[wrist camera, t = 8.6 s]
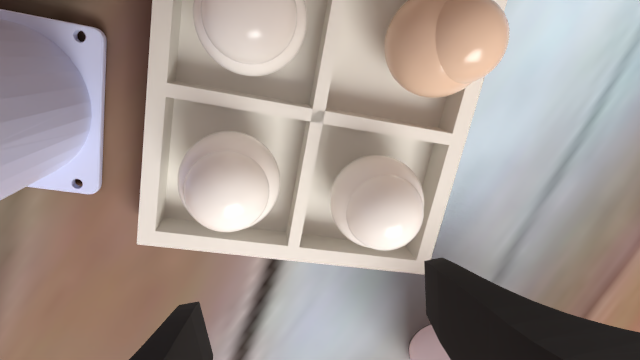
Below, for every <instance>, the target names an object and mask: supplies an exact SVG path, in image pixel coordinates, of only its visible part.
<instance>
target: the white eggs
mask: <svg viewBox="0 0 640 360" xmlns="http://www.w3.org/2000/svg"><path fill="white" fill-rule="evenodd" d="M193 19H194V25H195V30H196V32H197V35H198V38H199V40H200V42H201V44H202V46H203V47H204V49H205V50H206V52H207V53H208V54H209V55H210V56H211V57H212V58H213V59H214V60H215V61H216V62H217V63H218V64H220V65H221V66H222V67H224V68H226V69H228V70H229V71H232V72H234V73H237V74H241V75H245V76H263V75H267V74H271V73H273V72H276V71H278V70H280V69H281V68H283V67H284V66H286V65H287V64H288V63H289V62H290V61H291V60H292V59H293V58H294V57H295V55H296V54H297V53H298V51H299V49H300V47H301V45H302V43H303V40H304V38H305V34H306V29H307V10H306V5H305V1H304V0H194V3H193ZM177 185H178V191H179V195H180V198H181V200H182V203H183V205H184V206H185V208H186V210H187V211H188V212H189V213H190V215H191V216H192V217H193V218H194V219H195V220H196V221H197V222H199V223H200V224H201V225H203V226H205V227H206V228H209V229H211V230H214V231H218V232H234V231H239V230H242V229H246V228H248V227H251V226H253V225H254V224H256V223H258V222H259V221H261V220H262V219H263V218H264V217H265V216H266V215H267V214H268V213H269V212H270V210H271V209H272V208H273V206H274V204H275V202H276V200H277V197H278V194H279V190H280V172H279V168H278V165H277V162H276V160H275V158H274V156H273V155H272V153H271V152H270V150H269V149H268V148H267V147H266V146H265V145H264V144H263V143H262V142H260V141H259V140H257V139H256V138H254V137H252V136H250V135H247V134H245V133H241V132H235V131H222V132H216V133H213V134H210V135H208V136H205V137H204V138H202V139H200V140H199V141H197V142H196V143H195V144H194V145H193V146H192V147H191V148H190V149H189V150H188V151H187V153H186V154H185V156H184V158H183V160H182V162H181V164H180V167H179V171H178V183H177ZM330 210H331V214H332V217H333V220H334V222H335V224H336V225H337V227H338V229H339V230H340V231H341V232H342V233H343V234H344V235H345V236H346V237H347V238H348V239H349V240H351V241H352V242H354V243H356V244H358V245H361V246H364V247H368V248H372V249H375V250H383V251H387V250H394V249H397V248H400V247H402V246H404V245H406V244H407V243H409V242H410V241H411V240H412V239H413V238H414V237H415V236H416V235H417V233H418V232H419V230H420V228H421V225H422V222H423V217H424V194H423V189H422V186H421V184H420V182H419V180H418V178H417V176H416V175H415V173H414V172H413V171H412V170H411V169H410V168H409V167H408V166H407V165H406V164H404V163H403V162H401V161H399V160H397V159H395V158H393V157H389V156H385V155H368V156H364V157H361V158H358V159H356V160H354V161H352V162H351V163H349V164H348V165H347V166H345V167H344V168H343V169H342V170H341V172H340V173H339V174H338V175H337V177H336V179H335V181H334V183H333V185H332V188H331V193H330Z"/></svg>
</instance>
